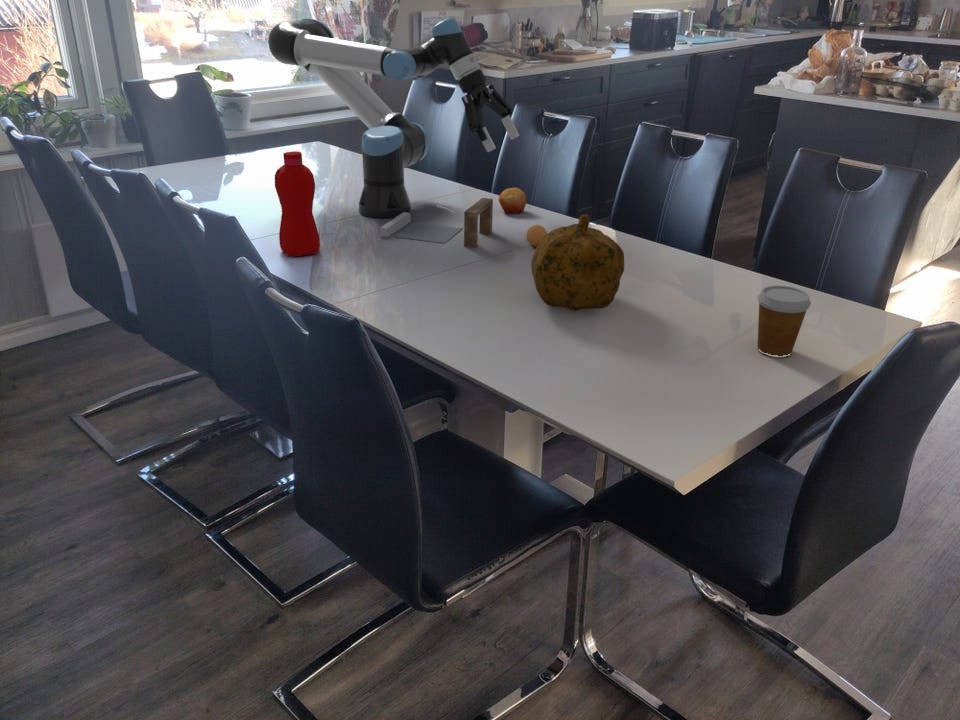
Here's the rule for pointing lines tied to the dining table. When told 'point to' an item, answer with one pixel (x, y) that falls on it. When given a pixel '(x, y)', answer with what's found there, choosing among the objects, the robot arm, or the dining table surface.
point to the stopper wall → (394, 224)
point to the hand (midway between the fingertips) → (503, 144)
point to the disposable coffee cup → (780, 318)
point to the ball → (535, 234)
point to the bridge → (471, 221)
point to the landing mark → (429, 233)
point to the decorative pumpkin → (577, 267)
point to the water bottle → (296, 207)
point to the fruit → (512, 200)
